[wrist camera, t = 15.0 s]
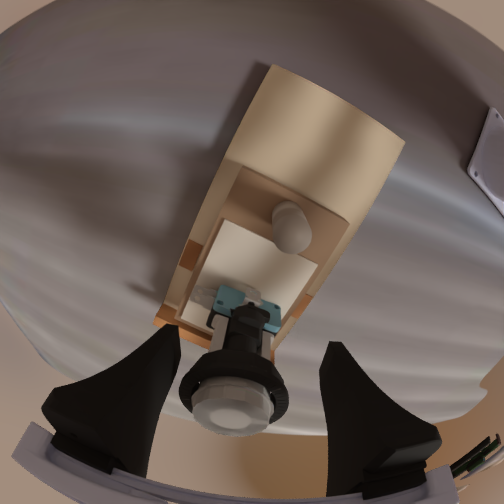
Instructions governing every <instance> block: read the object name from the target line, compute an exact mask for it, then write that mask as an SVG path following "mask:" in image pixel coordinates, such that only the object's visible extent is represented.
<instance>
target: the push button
mask: <svg viewBox="0 0 504 504" xmlns="http://www.w3.org/2000/svg"><path fill="white" fill-rule="evenodd" d="M199 289H201V290H202V291H203V293H202V294H199V293H198V290H199ZM250 292H254V293H256V295H253V294H251V293H250ZM195 296H198V297H200V300H195ZM189 300H190V301H192V302H195V303H197V304H200V305H202V306H203V308H205V309H208V310H210V313H209V316H208V319H207V322H206V326H207V327H208V328H210V329H213V330H214V333H213V337H212V340H211V344H210V347H209V351H208V353H205V354H203V355H202V357H201V358H200V359H199V360H198V361H197V362H196V363H195V365H194V366H193V367H192V368H191V369H190V371H189V372H187V373H186V374H185V376H184V377H183V379H182V381H181V384H180V387H179V397H180V399H181V402H182V403H183V405H184V406H185V407H186V408H187V409H188V410H189V411H190V412H191V413H192V414H193V415H194V419H195V420H196V421H197V422H198V423H199V424H200V425H201V426H203V427H204V428H206V429H208V430H210V431H213V432H215V433H218V434H222V435H228V436H237V437H238V436H250V435H254V434H256V433H259V432H262V431H263V430H264V429H266V427H267V426H268V425H269V424H271V423H273V422H275V421H277V420H278V419H280V418H281V417H282V416H283V415H284V414H285V412H286V411H287V409H288V405H289V396H288V391H287V389H286V387H285V385H284V380H283V379H282V377H281V375H280V374H279V372H278V371H277V369H276V368H275V366H274V365H273V363H272V362H271V361H270V356H271V344H272V343H273V341H274V337H275V336H276V334H277V333H278V331H279V329H280V328H281V308H280V306H279V305H277V304H274V303H270V302H267V301H265V300H262V299H261V293H260V292H259V291H258V290H255V289H252V288H250V287H247V288H246V293H244V292H241V291H239V290H236V289H233V288H231V287H228V286H226V285H221V286H220V288H219V290H218V291H216V290H213V289H211V288H210V290H208V289H206V288H203V287H201V286H198V285H195V287H194V290H193V292H192V293H191V296H190V299H189ZM199 382H200V384H199ZM270 391H271V392H272V393H271V394H270Z"/></svg>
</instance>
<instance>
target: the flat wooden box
mask: <svg viewBox="0 0 504 504" xmlns="http://www.w3.org/2000/svg"><path fill="white" fill-rule="evenodd" d="M404 144H405V141H403V140H402V139H401V138H399V137H398V136H397V135H395V134H394V133H393V132H391V131H390V130H389V129H387V128H386V127H384V126H383V125H382V124H380V123H379V122H377V121H376V120H374V119H373V118H371V117H370V116H368V115H367V114H365V113H364V112H362V111H361V110H359V109H358V108H356V107H354V106H353V105H351V104H350V103H348V102H346V101H345V100H343V99H341V98H340V97H338V96H336V95H334V94H333V93H331V92H329V91H327V90H325V89H324V88H322V87H320V86H318V85H316V84H314V83H312V82H310V81H308V80H306V79H304V78H302V77H300V76H298V75H296V74H294V73H292V72H290V71H288V70H286V69H283V68H281V67H279V66H277V65H274V64H272V66H271V68H270V69H269V71H268V73H267V75H266V76H265V78H264V80H263V82H262V84H261V85H260V87H259V89H258V91H257V93H256V95H255V97H254V98H253V100H252V102H251V104H250V106H249V108H248V110H247V112H246V114H245V116H244V117H243V119H242V121H241V123H240V125H239V127H238V129H237V131H236V133H235V135H234V137H233V139H232V141H231V143H230V145H229V147H228V149H227V152H226V154H225V156H224V158H223V160H222V162H221V164H220V166H219V168H218V171H217V173H216V175H215V177H214V179H213V181H212V184H211V186H210V188H209V190H208V192H207V195H206V197H205V199H204V202H203V204H202V206H201V208H200V211H199V213H198V215H197V218H196V220H195V222H194V225H193V227H192V230H191V232H190V234H189V237H188V239H187V242H186V244H185V247H184V249H183V252H182V254H181V257H180V259H179V262H178V264H177V267H176V270H175V272H174V275H173V278H172V280H171V283H170V286H169V288H168V291H167V294H166V297H165V299H164V302H163V304H162V306H161V307H160V309H159V311H158V312H157V314H156V316H155V319H154V322H153V324H154V325H156V326H158V327H160V328H162V327H163V326H164V325H165V324H166V323H168V324H173V325H178V326H179V337H181V338H183V339H185V340H188V341H190V342H192V343H194V344H197V345H199V346H201V347H204V348H206V349H208V350H209V347H210V344H211V340H212V337H213V336H212V335H209V334H207V333H205V332H203V331H200V330H198V329H196V328H194V327H191V326H189V325H187V324H185V323H183V322H181V321H178V320H176V319H174V317H175V315H176V312H177V310H178V307H179V305H180V302H181V300H182V297H183V295H184V293H185V290H186V288H187V285H188V283H189V281H190V278H191V276H192V274H193V271H194V269H195V267H196V264H197V262H198V260H199V257H200V255H201V253H202V251H203V248H204V246H205V244H206V242H207V239H208V237H209V235H210V233H211V230H212V228H213V226H214V224H215V222H216V219H217V217H218V215H219V213H220V211H221V209H222V207H223V204H224V202H225V200H226V198H227V196H228V194H229V192H230V190H231V188H232V185H233V183H234V181H235V179H236V177H237V175H238V173H239V171H240V169H241V167H242V166H243V165H244V166H246V167H248V168H251V169H253V170H255V171H257V172H259V173H261V174H263V175H265V176H267V177H269V178H271V179H273V180H275V181H277V182H279V183H281V184H283V185H285V186H287V187H289V188H291V189H292V190H294V191H296V192H298V193H300V194H302V195H304V196H306V197H308V198H309V199H311V200H313V201H315V202H317V203H319V204H320V205H322V206H324V207H326V208H328V209H329V210H331V211H333V212H335V213H336V214H338V215H340V216H342V217H343V218H345V219H346V220H347V221H348V222H349V224H350V225H349V227H348V228H347V230H346V232H345V233H344V235H343V237H342V238H341V240H340V242H339V243H338V245H337V246H336V248H335V250H334V251H333V253H332V254H331V256H330V258H329V259H328V261H327V262H326V264H325V265H324V267H323V268H322V270H321V272H320V273H319V275H318V276H317V278H316V279H315V281H314V282H313V284H312V285H311V287H310V288H309V290H308V291H307V293H306V294H305V296H304V297H303V299H302V300H301V302H300V303H299V304H298V306H297V307H296V309H295V310H294V312H293V313H292V315H291V316H290V317H289V319H288V320H287V322H286V323H285V324H284V326H283V327H282V329H281V330H280V331H279V333H278V334H277V336H276V337H275V338H274V341H273V343H272V344H271V356H270V361H271V362H272V363H273V365H274V351H275V349H276V348H277V347H278V346H279V344H280V343H281V342H282V340H283V339H284V338H285V336H286V335H287V334H288V332H289V331H290V330H291V328H292V327H293V325H294V324H295V323H296V321H297V320H298V319H299V317H300V316H301V314H302V313H303V312H304V310H305V309H306V307H307V306H308V305H309V303H310V302H311V300H312V299H313V297H314V296H315V294H316V293H317V292H318V290H319V289H320V287H321V286H322V284H323V283H324V281H325V280H326V278H327V277H328V275H329V274H330V272H331V271H332V269H333V268H334V266H335V265H336V263H337V261H338V260H339V258H340V257H341V255H342V254H343V252H344V251H345V249H346V247H347V246H348V244H349V243H350V241H351V239H352V238H353V236H354V234H355V233H356V231H357V229H358V228H359V226H360V224H361V223H362V221H363V219H364V218H365V216H366V214H367V213H368V211H369V209H370V207H371V206H372V204H373V202H374V200H375V199H376V197H377V195H378V193H379V192H380V190H381V188H382V186H383V184H384V183H385V181H386V179H387V177H388V175H389V173H390V171H391V169H392V168H393V166H394V164H395V162H396V160H397V158H398V156H399V154H400V152H401V150H402V148H403V146H404Z"/></svg>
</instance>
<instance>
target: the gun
mask: <svg viewBox="0 0 504 504" xmlns="http://www.w3.org/2000/svg"><path fill="white" fill-rule="evenodd" d="M500 444H501V441H500V437H499V435H498V434H496V439H495V440H494V441H493V442H492V443H491V444H490V437H489V436H488V437H487V438H486V439H485V440H483V441H482V442H481V443H480V444H479V445H477V446H476V447H475V448H474V449H472V450H471V451H470V452H469V453H468V454H466V455H465V456H463V457H462V458H461V459H459V460H458V461H456V462H455V463H454V464H452V465H451V466H449V467H450V470H451V473H452V476H453V479H454V478H456V477H457V476H459V475H460V474H462V473H463V472H464V471H466V470H467V471H468V472H469V473H470V472H471V471H473V470H474V469H475V468H477V467H478V466H480V465H482V464H483V463H484V462H485V457H486V456H487V455H488V454H489V453H490V452H492V451H493V450H495V449H496V448H497V447H498V446H499V445H500ZM486 446H487V447H486ZM480 451H481V452H480ZM470 459H471V460H470ZM468 460H469V461H468ZM461 465H462V466H461Z"/></svg>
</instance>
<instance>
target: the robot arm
mask: <svg viewBox="0 0 504 504" xmlns="http://www.w3.org/2000/svg"><path fill="white" fill-rule="evenodd" d="M467 171H468V174H469V175H470V176H471V178H472V179H473V180H474V181H475V182H476V183H477V184H478V185H479V187H480V188H481V189H482V190H483V191H484V192H485V194H486V195H487V196H488V197H489V198H490V200H491V201H492V202H493V203H494V205H495V206H496V207H497V209H498V210H499V211H500V212H501V214H502V215H503V216H504V119H503V118H502V117H501V115H500V114H499V113H498V112H497V110H496V109H495V108H493V107H491V108H490V109H489V112H488V115H487V118H486V121H485V124H484V127H483V130H482V133H481V136H480V138H479V141H478V144H477V146H476V149H475V151H474V154H473V156H472V159H471V161H470V163H469V166H468V169H467ZM474 173H475V175H474ZM180 358H181V348H180V337H179V326H178V325H173V324H168V323H166V324H165V325H164V326H163V327H162V328H160V329H159V330H158V331H157V332H156V333H155V334H154V335H153V336H152V337H150V338H149V339H148V340H147V341H146V342H145V343H143V344H142V345H141V346H140V347H139V348H137V349H136V350H135V351H133V352H132V353H131V354H129V355H128V356H127V357H125V358H124V359H122V360H121V361H119V362H118V363H116V364H115V365H113V366H111V367H110V368H108V369H106V370H104V371H102V372H100V373H98V374H96V375H94V376H91V377H89V378H86V379H84V380H81V381H78V382H75V383H72V384H68V385H65V386H61V387H57V388H54V389H53V390H52V392H51V393H50V395H49V396H48V398H47V399H46V401H45V402H44V404H43V405H42V407H41V409H42V412H43V414H44V416H45V417H46V419H47V420H48V421H49V423H50V424H51V425H52V426H53V427H54V429H55V430H56V433H55V435H53V434H51V433H50V432H49V431H47V430H46V429H44V428H42V427H41V426H39V425H37V424H36V423H34V422H31V423H30V425H29V426H28V428H27V430H26V431H25V433H24V435H23V436H22V438H21V440H20V441H19V443H18V445H17V447H16V449H15V450H14V452H13V454H12V458H13V459H14V460H15V461H16V462H18V463H19V464H20V465H21V466H22V467H24V468H25V469H26V470H27V471H29V472H30V473H31V474H33V475H34V476H35V477H37V478H38V479H39V480H41V481H42V482H44V483H45V484H47V485H49V486H50V487H52V488H53V489H55V490H57V491H58V492H60V493H62V494H63V495H65V496H67V497H69V498H70V499H72V500H74V501H76V502H78V503H80V504H168V502H167V501H170V502H175V503H178V504H459V502H460V500H459V497H458V493H457V489H456V486H455V483H454V479H453V476H452V473H451V470H450V467H449V465H448V464H447V465H444V466H441V467H439V468H436V469H433V470H431V471H428V472H427V473H425V472H424V468H426V466H427V465H426V461H425V460H427V459H428V458H429V457H430V456H431V455H432V454H433V453H435V452H436V451H437V450H438V449H439V447H440V446H441V444H442V440H441V437H440V434H439V432H438V430H437V427H436V426H434V425H432V424H430V423H428V422H425V421H423V420H421V419H420V418H418V417H416V416H415V415H413V414H411V413H410V412H408V411H407V410H405V409H404V408H402V407H401V406H400V405H398V404H397V403H396V402H394V401H393V400H392V399H391V398H390V397H388V396H387V395H386V394H385V393H384V392H383V391H382V390H381V389H380V388H379V387H378V386H377V385H376V384H375V383H374V382H373V381H372V380H371V379H370V378H369V377H368V375H367V374H366V373H365V372H364V371H363V369H362V368H361V367H360V366H359V365H358V363H357V362H356V361H355V359H354V358H353V357H352V355H351V354H350V353H349V351H348V350H347V349H346V347H345V346H344V345H343V343H342V342H333V341H329V344H328V347H327V350H326V353H325V355H324V358H323V361H322V364H321V367H320V369H319V377H320V390H321V396H322V401H323V406H324V412H325V417H326V423H327V431H328V480H327V492H326V497H322V498H307V499H260V498H245V497H234V496H225V495H218V494H211V493H205V492H199V491H193V490H189V489H184V488H179V487H175V486H171V485H167V484H163V483H159V482H155V481H152V480H149V479H146V475H147V468H148V462H149V456H150V452H151V447H152V442H153V438H154V434H155V430H156V426H157V422H158V419H159V415H160V412H161V409H162V406H163V404H164V402H165V399H166V397H167V395H168V392H169V390H170V387H171V385H172V383H173V380H174V378H175V375H176V373H177V369H178V366H179V362H180ZM165 500H166V501H165Z"/></svg>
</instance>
